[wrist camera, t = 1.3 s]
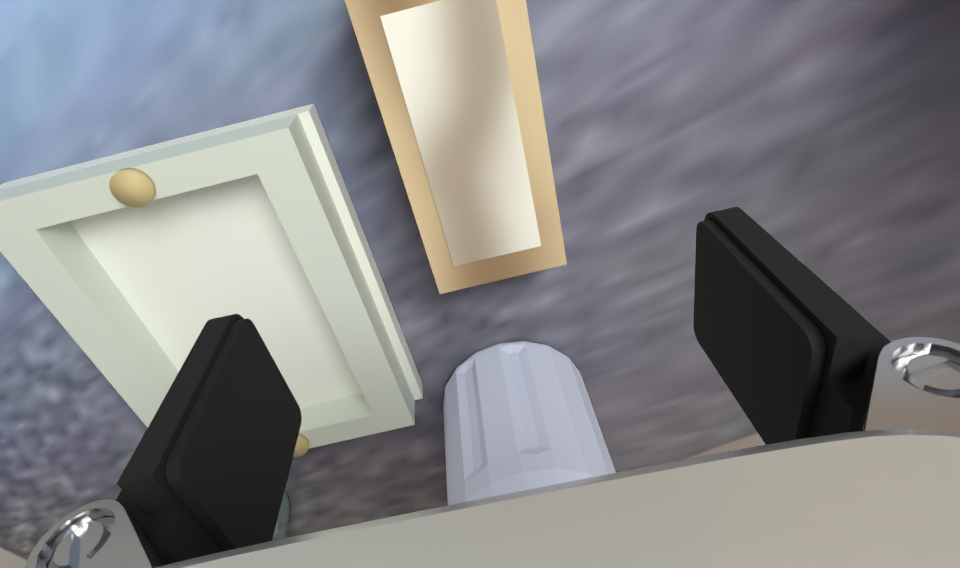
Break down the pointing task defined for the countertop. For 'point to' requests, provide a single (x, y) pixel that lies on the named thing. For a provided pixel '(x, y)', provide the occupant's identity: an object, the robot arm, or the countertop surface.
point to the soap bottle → (518, 423)
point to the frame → (465, 132)
